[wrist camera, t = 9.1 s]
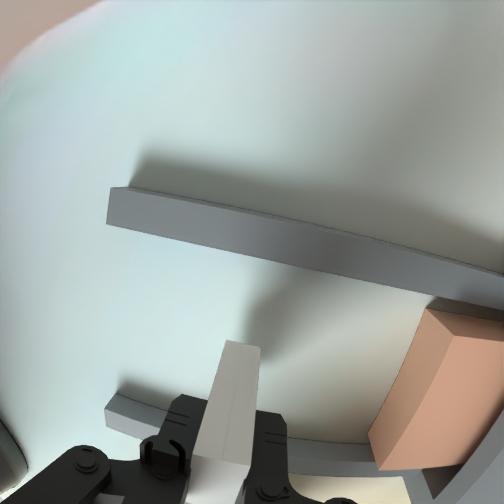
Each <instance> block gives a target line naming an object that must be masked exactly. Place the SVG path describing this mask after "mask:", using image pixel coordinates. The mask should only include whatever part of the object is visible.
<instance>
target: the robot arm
mask: <svg viewBox="0 0 504 504" xmlns="http://www.w3.org/2000/svg"><path fill="white" fill-rule="evenodd" d="M260 353H261V347H257V346H252V345H247V344H243V343H238V342H234V341H229V340H226V342H225V346H224V349H223V352H222V356H221V359H220V362H219V366H218V369H217V373H216V376H215V379H214V383H213V386H212V389H211V393H210V396H209V399H208V400H204V399H200V398H196V397H192V396H188V395H184V394H181V395H180V396H179V397H177V398H176V399H175V400H173V401H172V404H171V406H170V408H169V410H168V413H167V415H166V417H165V420H164V421H163V424H162V426H161V428H160V430H159V433H158V435H152V436H150V437H148V438H145V439H144V440H143V441H142V443H141V444H140V459H137V460H133V461H123V460H113V459H108V457H107V455H105V454H104V453H103V452H102V451H101V450H99V449H97V448H95V447H93V446H87V445H80V446H74V447H73V448H71V449H69V450H67V451H66V452H65V453H64V454H62V455H61V456H60V457H59V458H57V459H56V460H55V461H54V462H52V463H51V464H50V465H49V466H47V467H46V468H45V469H44V470H42V471H41V472H40V473H38V474H37V475H36V476H35V477H33V478H32V479H31V480H29V481H28V482H27V483H26V484H24V485H23V486H22V487H20V488H19V489H18V490H17V491H15V492H14V493H13V494H11V495H10V496H9V497H7V498H6V499H5V500H3V501H2V502H1V503H0V504H185V502H188V503H192V504H357V503H356V502H354V501H353V500H351V499H347V498H343V497H342V498H332V499H330V500H327V501H326V502H325V503H322V502H319V501H316V500H312V499H309V498H307V497H304V496H302V495H300V494H299V493H298V492H296V491H295V490H294V489H293V488H292V486H291V484H290V482H289V479H288V453H287V424H286V423H285V421H284V419H283V418H282V416H281V414H277V413H271V412H265V411H259V410H256V401H257V390H258V378H259V365H260ZM27 470H28V469H27V464H26V462H25V459H24V457H23V455H22V453H21V451H20V450H19V448H18V446H17V445H16V443H15V441H14V440H13V438H12V437H11V435H10V434H9V433H8V431H7V430H6V428H5V427H4V425H3V424H2V423H1V421H0V494H2V493H4V492H6V491H7V490H9V489H11V488H14V487H16V486H17V485H18V484H19V483H20V482H21V480H22V479H23V478H24V477H25V475H26V474H27Z"/></svg>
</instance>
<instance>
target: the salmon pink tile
mask: <svg viewBox="0 0 504 504" xmlns="http://www.w3.org/2000/svg"><path fill="white" fill-rule="evenodd" d="M503 409H504V322H498V321H493V320H487V319H481V318H476V317H470V316H465V315H459V314H454V313H448V312H443V311H438V310H432V309H427V308H425V310H424V313H423V316H422V318H421V321H420V324H419V326H418V329H417V331H416V334H415V336H414V339H413V341H412V344H411V346H410V349H409V351H408V353H407V356H406V358H405V360H404V362H403V365H402V367H401V369H400V371H399V373H398V376H397V378H396V380H395V382H394V384H393V386H392V388H391V390H390V392H389V394H388V396H387V398H386V400H385V402H384V404H383V406H382V408H381V410H380V412H379V414H378V415H377V417H376V419H375V421H374V423H373V425H372V426H371V428H370V430H369V432H368V433H367V434H368V437H369V440H370V444H371V447H372V451H373V454H374V457H375V461H376V464H377V468H378V471H382V470H407V469H421V468H432V467H442V466H450V465H457V464H464V463H466V462H467V461H468V460H469V458H470V457H471V456H472V455H473V453H474V452H475V451H476V449H477V448H478V447H479V445H480V444H481V442H482V441H483V440H484V438H485V437H486V435H487V434H488V432H489V431H490V429H491V428H492V427H493V425H494V423H495V422H496V420H497V419H498V417H499V416H500V414H501V412H502V411H503Z"/></svg>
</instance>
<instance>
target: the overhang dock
mask: <svg viewBox="0 0 504 504" xmlns="http://www.w3.org/2000/svg"><path fill="white" fill-rule="evenodd" d="M106 224H108V225H112V226H117V227H121V228H126V229H130V230H134V231H139V232H143V233H148V234H152V235H157V236H162V237H166V238H171V239H175V240H180V241H184V242H189V243H193V244H198V245H202V246H207V247H211V248H216V249H220V250H225V251H230V252H234V253H239V254H243V255H248V256H252V257H257V258H262V259H266V260H271V261H275V262H280V263H284V264H289V265H294V266H298V267H303V268H308V269H312V270H317V271H321V272H326V273H331V274H335V275H340V276H345V277H349V278H354V279H359V280H363V281H368V282H372V283H377V284H382V285H386V286H391V287H396V288H401V289H405V290H410V291H415V292H419V293H424V294H429V295H433V296H438V297H443V298H448V299H452V300H457V301H462V302H467V303H471V304H476V305H481V306H486V307H490V308H495V309H500V310H504V274H500V273H497V272H494V271H490V270H487V269H484V268H480V267H477V266H473V265H470V264H466V263H463V262H459V261H456V260H452V259H449V258H445V257H441V256H438V255H434V254H430V253H427V252H423V251H419V250H416V249H412V248H408V247H404V246H400V245H397V244H393V243H389V242H385V241H381V240H377V239H373V238H369V237H365V236H361V235H357V234H353V233H349V232H344V231H340V230H336V229H332V228H328V227H323V226H319V225H315V224H310V223H306V222H302V221H297V220H293V219H288V218H284V217H279V216H275V215H270V214H265V213H261V212H256V211H251V210H247V209H242V208H237V207H232V206H227V205H222V204H217V203H212V202H207V201H202V200H197V199H192V198H187V197H181V196H176V195H171V194H165V193H160V192H154V191H149V190H143V189H137V188H131V187H114V188H111V189H110V197H109V204H108V212H107V221H106ZM104 411H105V421H106V427H109V428H111V429H114V430H116V431H119V432H122V433H124V434H127V435H130V436H133V437H135V438H138V439H141V440H144V439H145V438H148V437H150V436H152V435H158V433H159V430H160V428H161V426H162V424H163V421H164V420H165V417H166V415H167V413H168V411H165V410H162V409H158V408H155V407H152V406H149V405H146V404H143V403H140V402H137V401H134V400H131V399H128V398H126V397H123V396H120V395H117V394H115V395H114V396H113V397H112V399H111V400H110V401H109V403H108V404H107V406H106V407H105V408H104ZM287 453H288V473H293V474H303V475H315V476H331V477H396V476H402V477H403V479H404V482H405V485H406V488H407V491H408V494H409V497H410V501H411V504H504V409H503V411H502V412H501V414H500V416H499V417H498V419H497V420H496V422H495V423H494V425H493V427H492V428H491V429H490V431H489V432H488V434H487V435H486V437H485V438H484V440H483V441H482V442H481V444H480V445H479V447H478V448H477V449H476V451H475V452H474V453H473V455H472V456H471V457H470V458H469V460H468V461H467V462H466V463H464V464H457V465H450V466H442V467H432V468H421V469H407V470H382V471H378V468H377V464H376V461H375V457H374V454H373V451H372V447H371V445H362V444H344V443H331V442H320V441H311V440H302V439H294V438H287Z"/></svg>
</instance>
